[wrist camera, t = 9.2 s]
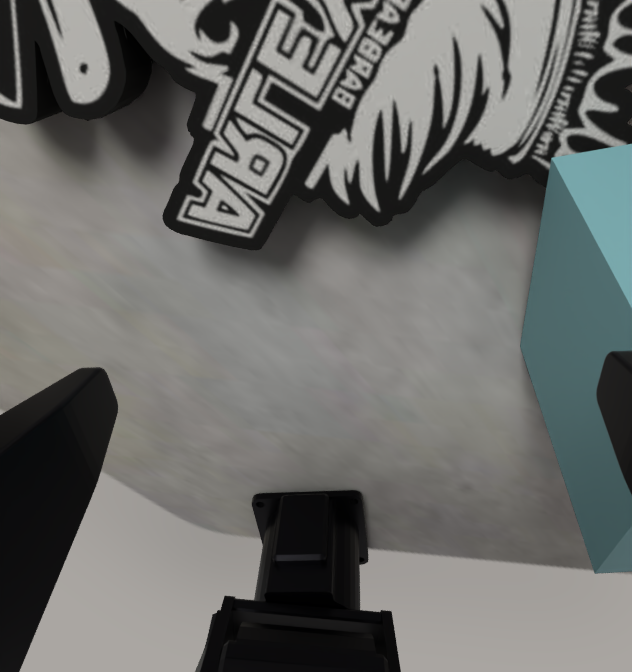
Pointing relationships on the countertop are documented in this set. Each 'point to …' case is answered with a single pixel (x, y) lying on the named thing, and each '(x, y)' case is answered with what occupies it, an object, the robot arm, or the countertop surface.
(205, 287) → the countertop surface
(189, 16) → the sign
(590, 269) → the block
